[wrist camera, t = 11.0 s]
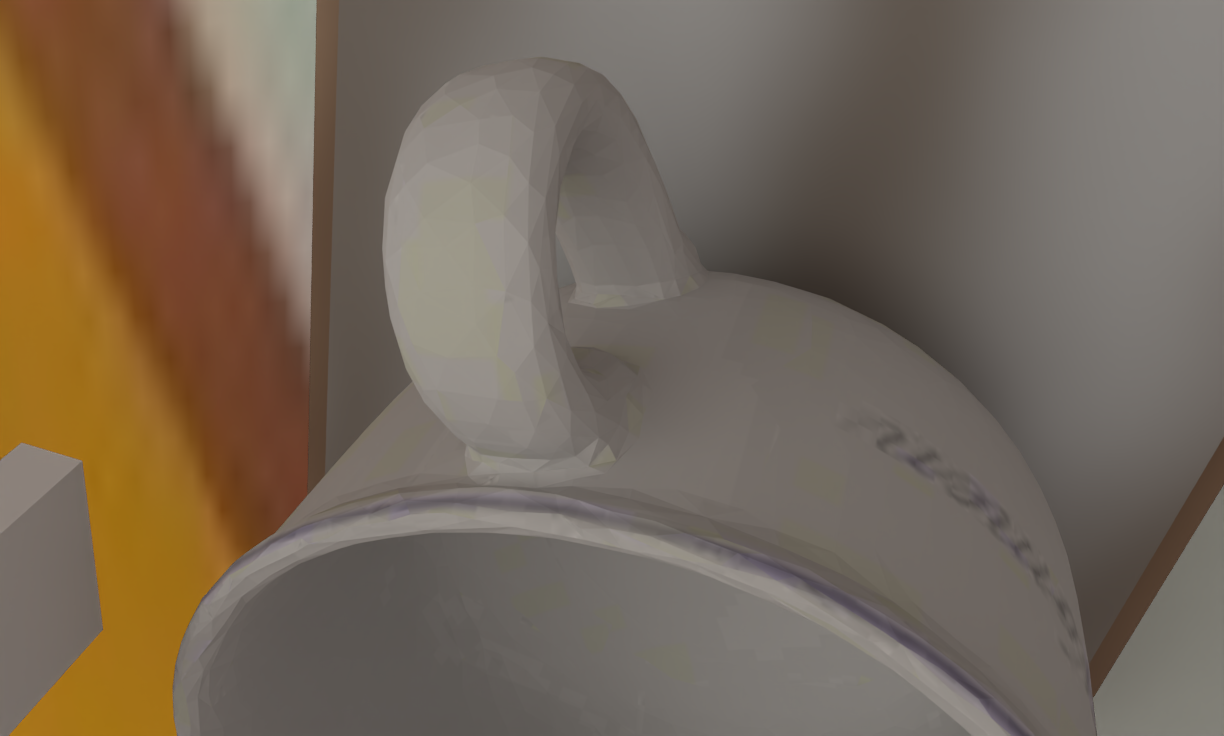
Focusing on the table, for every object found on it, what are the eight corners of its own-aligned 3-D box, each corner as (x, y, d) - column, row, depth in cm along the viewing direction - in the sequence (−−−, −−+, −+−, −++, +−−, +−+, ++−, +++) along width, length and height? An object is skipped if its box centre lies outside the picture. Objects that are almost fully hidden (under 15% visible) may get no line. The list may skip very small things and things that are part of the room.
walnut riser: (383, 507, 27) (298, 630, 23) (437, -290, 18) (311, -293, 14) (992, 694, 25) (1003, 858, 21) (1411, -85, 16) (1551, -27, 12)
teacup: (981, 764, 20) (1005, 1277, 14) (435, 650, 22) (224, 1046, 16) (1207, -14, 13) (1495, 267, 6) (369, -70, 15) (-67, 96, 9)
